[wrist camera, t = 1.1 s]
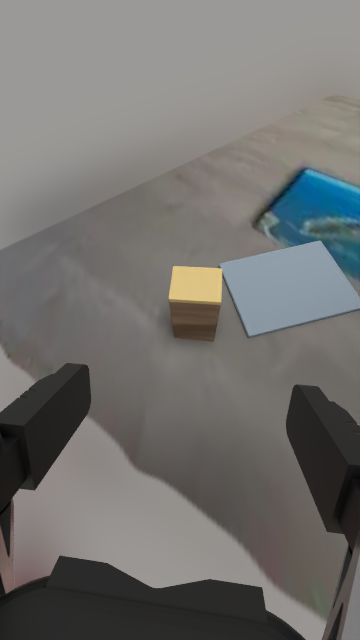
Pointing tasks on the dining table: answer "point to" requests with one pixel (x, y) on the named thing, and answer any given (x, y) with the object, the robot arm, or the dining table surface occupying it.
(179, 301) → the wooden block
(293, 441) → the robot arm
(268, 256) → the slate mat
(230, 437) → the dining table surface
